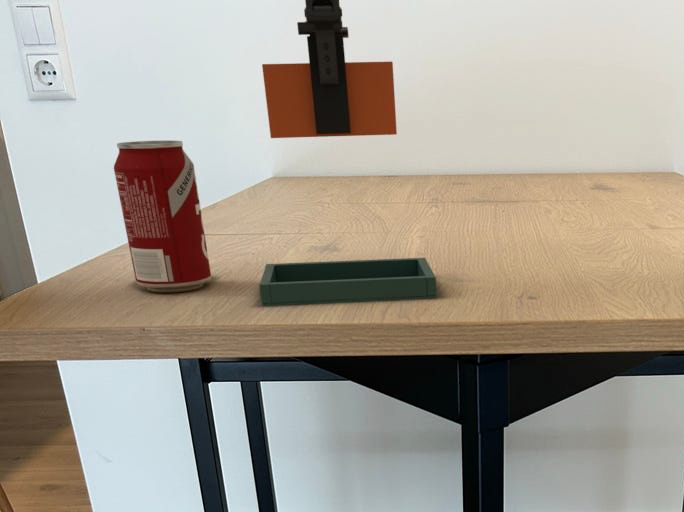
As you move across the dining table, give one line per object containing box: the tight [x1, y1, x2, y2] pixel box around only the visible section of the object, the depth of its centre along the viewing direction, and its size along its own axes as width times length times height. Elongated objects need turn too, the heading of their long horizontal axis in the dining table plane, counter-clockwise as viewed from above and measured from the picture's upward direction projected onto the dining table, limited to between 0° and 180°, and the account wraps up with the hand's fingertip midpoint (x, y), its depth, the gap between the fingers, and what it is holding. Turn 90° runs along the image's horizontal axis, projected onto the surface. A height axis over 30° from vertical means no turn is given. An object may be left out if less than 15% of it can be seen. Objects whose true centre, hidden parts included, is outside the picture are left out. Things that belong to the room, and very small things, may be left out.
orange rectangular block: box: [261, 61, 398, 139], centre depth 76 cm, size 10×6×5 cm, turn 98°
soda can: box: [113, 140, 212, 294], centre depth 84 cm, size 7×7×12 cm
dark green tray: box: [258, 257, 437, 307], centre depth 82 cm, size 15×10×2 cm
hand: (333, 130), depth 77 cm, fingers closed on orange rectangular block, 5 cm apart
